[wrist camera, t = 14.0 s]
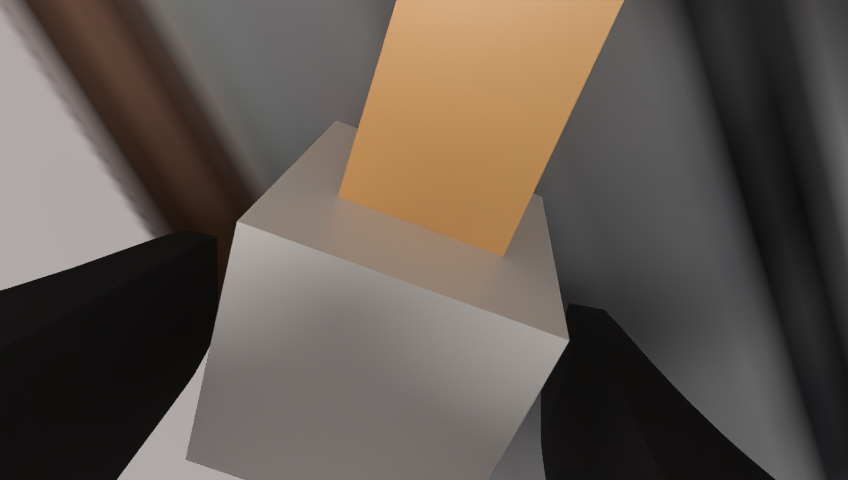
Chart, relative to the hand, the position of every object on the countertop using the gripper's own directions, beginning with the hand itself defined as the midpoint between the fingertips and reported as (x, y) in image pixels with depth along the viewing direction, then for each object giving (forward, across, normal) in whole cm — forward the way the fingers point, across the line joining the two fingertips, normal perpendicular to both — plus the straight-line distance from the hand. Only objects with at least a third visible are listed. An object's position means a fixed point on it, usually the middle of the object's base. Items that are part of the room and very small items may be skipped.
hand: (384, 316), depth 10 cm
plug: (+1, -1, -6) cm, 6 cm away
